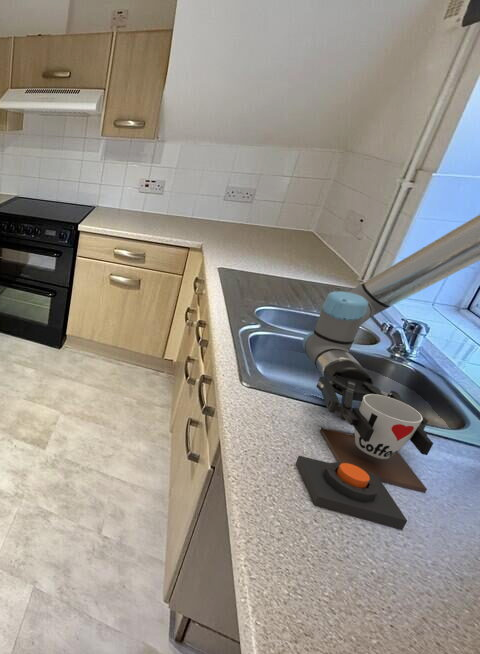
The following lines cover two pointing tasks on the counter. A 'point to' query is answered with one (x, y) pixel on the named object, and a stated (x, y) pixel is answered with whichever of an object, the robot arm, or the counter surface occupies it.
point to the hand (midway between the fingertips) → (397, 441)
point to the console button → (353, 475)
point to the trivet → (372, 461)
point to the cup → (387, 425)
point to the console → (349, 494)
